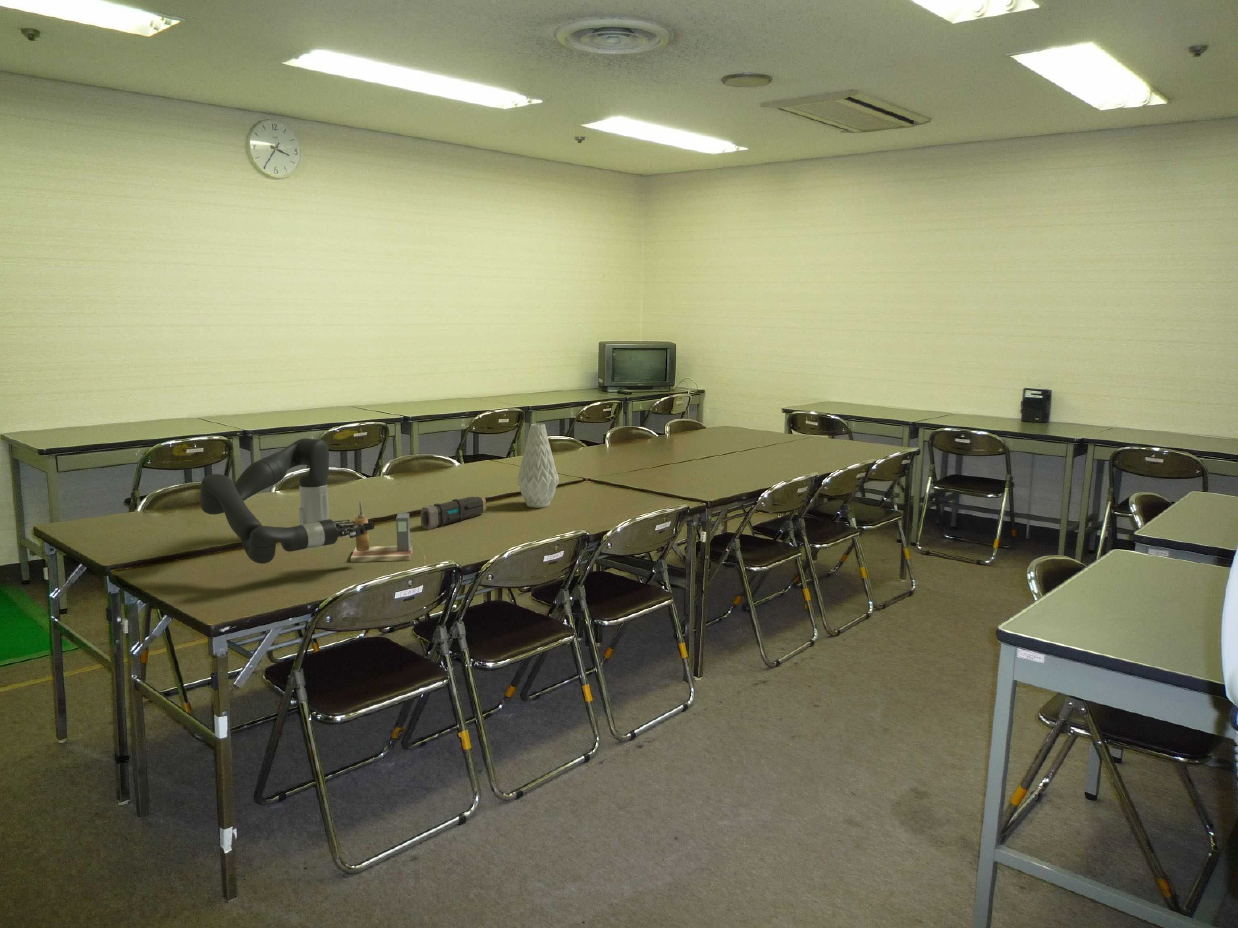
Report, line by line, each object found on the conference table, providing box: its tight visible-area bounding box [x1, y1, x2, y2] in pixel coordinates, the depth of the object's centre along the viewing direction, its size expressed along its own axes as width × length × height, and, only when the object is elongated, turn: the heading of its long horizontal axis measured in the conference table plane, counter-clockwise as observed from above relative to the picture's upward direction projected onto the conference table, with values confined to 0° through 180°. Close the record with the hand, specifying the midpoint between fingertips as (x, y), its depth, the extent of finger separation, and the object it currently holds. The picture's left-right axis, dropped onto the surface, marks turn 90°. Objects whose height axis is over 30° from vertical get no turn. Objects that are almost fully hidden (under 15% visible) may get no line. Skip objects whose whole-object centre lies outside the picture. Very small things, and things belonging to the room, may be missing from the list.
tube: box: [420, 496, 487, 531], centre depth 331 cm, size 11×7×30 cm
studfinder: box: [395, 512, 411, 551], centre depth 288 cm, size 4×6×11 cm, turn 9°
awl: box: [354, 501, 370, 551], centre depth 273 cm, size 4×4×15 cm
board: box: [350, 544, 414, 563], centre depth 286 cm, size 18×12×2 cm, turn 99°
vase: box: [516, 423, 560, 509], centre depth 355 cm, size 17×17×33 cm
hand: (369, 524), depth 275 cm, fingers closed on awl, 3 cm apart
